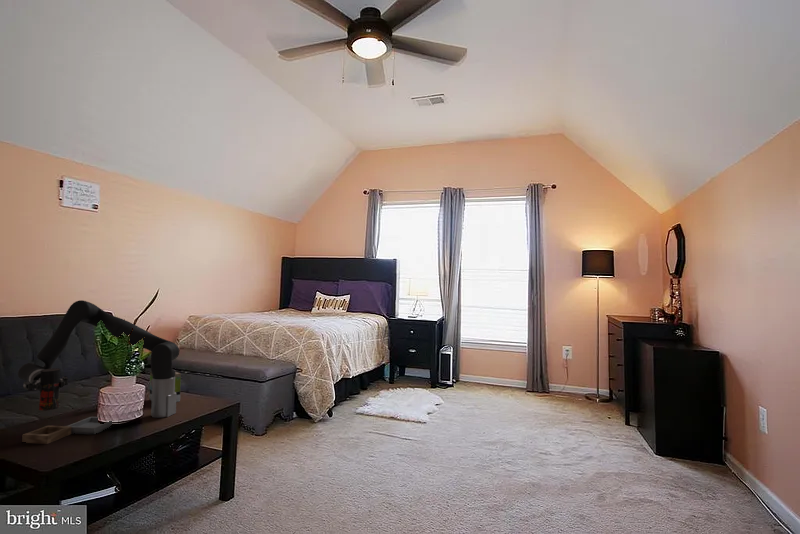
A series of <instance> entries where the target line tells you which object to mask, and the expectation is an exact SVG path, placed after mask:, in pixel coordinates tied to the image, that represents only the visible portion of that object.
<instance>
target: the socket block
mask: <svg viewBox="0 0 800 534" xmlns="http://www.w3.org/2000/svg"><path fill="white" fill-rule="evenodd" d="M71 428H72V427H70V426H68V425H62V426H61V425H45V426H43V427H40V428H37V429H34V430H31V431H29V432H26V433H23V434H22V436H21V437H22V438H21V442H26V443H25V444H41V445H48V444H50V443H53V442H56V441H58V440H60V439H62V438H65V437H67V436H70V435H72V433H71Z"/></svg>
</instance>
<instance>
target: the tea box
mask: <svg viewBox="0 0 800 534" xmlns="http://www.w3.org/2000/svg"><path fill="white" fill-rule="evenodd" d="M181 374H182V373H180V372H178V371H175V393H177V397H176V403H178V402H180V401H181V382H182V380H181V379H182V375H181ZM152 382H153V375H152V372H151V371H150V372H149V397H148V398H149V400H150V401H152Z"/></svg>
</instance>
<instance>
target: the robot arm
mask: <svg viewBox="0 0 800 534" xmlns="http://www.w3.org/2000/svg"><path fill="white" fill-rule="evenodd" d="M100 320H102V321H103V323H104V324H105V327H106V328H107V329H108V330H109V331H110V332H111V333H112V335H114V336H116V337H119V336H120V335H121V334H122V333H123V332H124V333H125V334H126V335H129V334H130V333H131V331H132V328H133V331H132V333H131V335H130V343H131V344H132V345H134V344H136V343H137V342H138V341H139V340H141V339H142V338H143V340H144V345H143V348H142V349H145V350H147V351H150V372H152V375H153V382H152V400H151V406H150V407H151V411H150V412H151V413H150V416H152V418H156V419H157V418H168V417H171V416H173V415H175V414H176V413H177V402H176V397H177V393H175V372H176V370H175V369H173V365H172V363H173V362H172V361H174V360H176V359H177V358H178V357H179V355H180V348H179V346H178V345H177V344H176V343H175V342H172V341H170V340H167V339H164V338H162V337H160V336H157V335H155V334H153V333H151V332H149V331H147V330H146V329H144V328H141V327H140V326H138V325H136V324H134V323H133V322H130V321H128V320H126V319H124V318H120V317H118V316H114V315H112V314H110V313H108V312H106V311H105V310H104V309H102V308H100V307H99V306H97V305H96V304H94V303H92V302H89V301H87V300H77V301H74V302H73V303H71V305H70V306H69V307H68V309H67V310H66V312H65V314H64V316H63V317H62V320H61V321H60V323H59V325H58V326H57V327H56V330H55V331H54V333H53V334H52V335H51V337H50V338H49V339H48V341H47V342H46V344H44V346H43V347H42V348H41V349H40V351H39V352H38V353H37V354H36V356H37V357H36V358H37V359H38V360H39V361H41V362H42V363H44V366H42V365H38V364H36V363H33V362H27V363H25V364H23V365H22V366H21V367H19V369H18V371H17V377H18V379H21V380H22V381H23V380H24V382H23V385H22V386H23V389H24V390H27V391H32V390H33V389H34V390H35V391H38V392H40V391H41V390H42V385H41V384H40V377H41V370H44V369H52V368H53V365H54V364H55V362H56V360H57V359H58V358H59V357H60V356H61V354H62V353H63V351H64V350H65V348H66V347H67V345H68V342H69V340H70V337H71V336H72V335H71V334H72V333H73V331H74V330H75V328H76V327H77V325H78V324H79V323H86V324H89V325H92V326H94V327H97V323H98V322H99V321H100ZM97 328H98V327H97ZM144 337H145V338H144ZM138 343H139V342H138ZM68 382H69V377H68V376H67V375H65V376H62V378H60V387H59V389H60V388H63V387H65V386H68V384H69V383H68Z"/></svg>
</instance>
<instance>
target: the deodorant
mask: <svg viewBox="0 0 800 534" xmlns="http://www.w3.org/2000/svg"><path fill="white" fill-rule="evenodd" d="M60 379H61V368H60V367H59V368H57V367H56V368H55V367H54V368H53V367H52V368H51V369H44V370H41V377H40V384H41V385H42V390H41V391H39V399H38V400H39V401H38V402H39V404H38V411H41V412H43V411H45V412H46V411H53V410H56V409H58V408H60V406H59V405H60V404H59V403H60Z"/></svg>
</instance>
